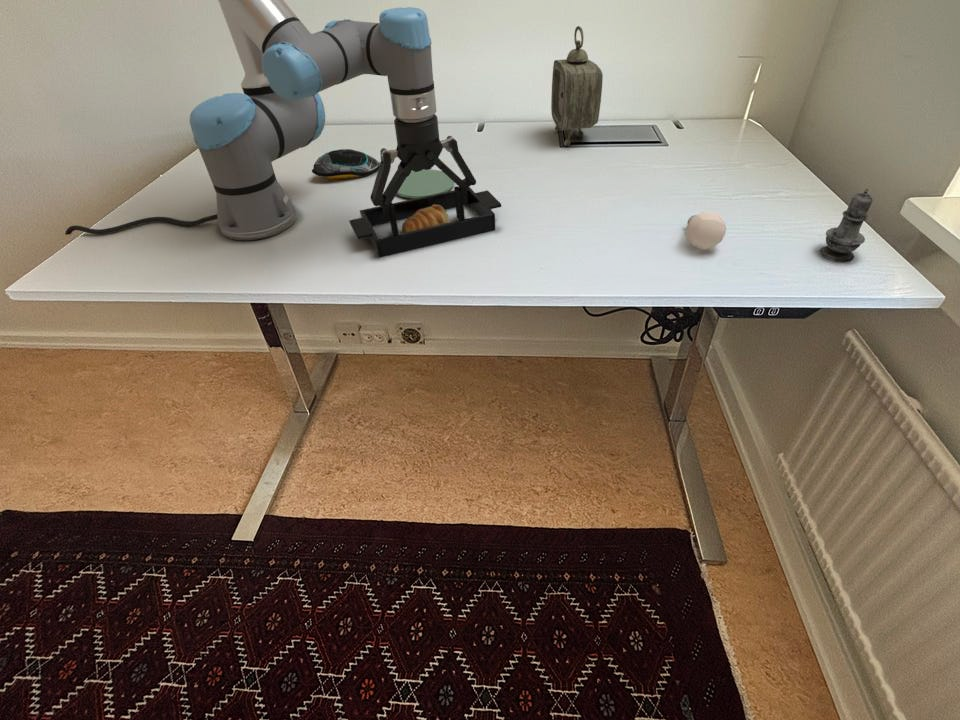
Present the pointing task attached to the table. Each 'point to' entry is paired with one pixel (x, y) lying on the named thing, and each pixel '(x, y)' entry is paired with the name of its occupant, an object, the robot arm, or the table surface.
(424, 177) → the plate
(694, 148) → the table surface
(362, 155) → the black domed oval piece
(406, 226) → the pastry
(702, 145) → the table surface
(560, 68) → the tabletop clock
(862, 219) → the grey chess piece
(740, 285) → the table surface
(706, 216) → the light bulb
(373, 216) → the pan
